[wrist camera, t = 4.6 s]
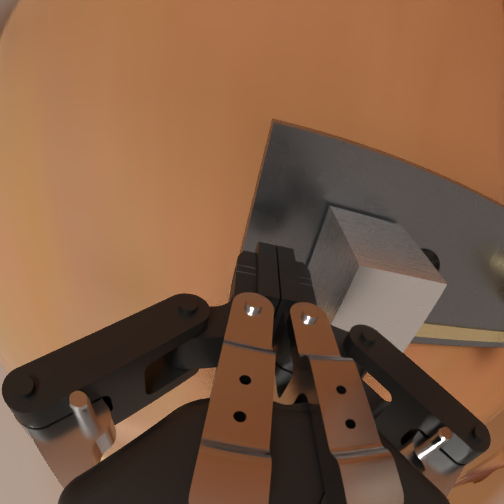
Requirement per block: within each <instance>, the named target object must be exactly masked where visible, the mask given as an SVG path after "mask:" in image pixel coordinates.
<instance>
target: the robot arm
mask: <svg viewBox="0 0 504 504" xmlns="http://www.w3.org/2000/svg"><path fill="white" fill-rule="evenodd" d="M312 285H313V284H312V280H311V275H310V271H309V269H308V268H307V267H306V266H305V264H304V263H303V262H298V261H296V260H295V254H294V249H292V248H287V247H283V246H278V245H273V244H268V243H263V242H259V241H258V243H257V246H256V250H255V253H254V252H249V251H243V252H242V253H241V254H240V255H239V256H238V259H237V263H236V267H235V272H234V276H233V280H232V284H231V292H230V300H229V302H228V303H227V304H225V305H222V306H216V307H209V305H208V304H207V302H206V301H205V300H203V299H202V298H200V297H198V296H196V295H193V294H177V295H174V296H172V297H170V298H168V299H166V300H163V301H161V302H159V303H157V304H155V305H153V306H151V307H148V308H146V309H144V310H142V311H140V312H138V313H136V314H133V315H131V316H129V317H127V318H125V319H123V320H121V321H118V322H116V323H114V324H112V325H110V326H108V327H105V328H103V329H101V330H99V331H97V332H95V333H92V334H90V335H88V336H86V337H84V338H82V339H79V340H77V341H75V342H73V343H71V344H69V345H66V346H64V347H62V348H60V349H58V350H56V351H53V352H51V353H49V354H47V355H45V356H42V357H40V358H38V359H36V360H34V361H32V362H29V363H27V364H25V365H23V366H21V367H18V368H16V369H14V370H13V371H11V372H10V373H9V374H8V375H7V376H6V378H5V380H4V382H3V385H2V395H3V398H4V400H5V402H6V403H7V405H8V407H9V408H10V409H11V410H12V412H13V413H14V416H15V418H16V419H17V421H18V422H19V423H20V425H21V426H22V427H23V428H24V429H25V431H26V432H27V433H28V435H29V436H30V437H31V438H32V439H33V440H34V442H35V444H36V446H37V448H38V449H39V451H40V453H41V454H42V456H43V458H44V459H45V461H46V462H47V464H48V465H49V467H50V469H51V470H52V472H53V473H54V475H55V476H56V478H57V479H58V481H59V482H60V484H61V485H62V487H63V488H64V490H63V492H62V493H61V496H60V498H59V501H58V504H450V503H449V501H448V499H447V498H446V497H447V496H448V494H449V492H450V491H451V489H452V488H453V486H454V484H455V482H456V481H457V479H458V477H459V475H460V474H461V472H462V470H463V468H464V466H465V465H467V464H468V463H470V462H471V461H473V460H474V459H475V458H477V457H478V456H480V455H481V454H482V453H483V452H485V451H486V450H487V449H488V448H489V446H490V434H489V431H488V429H487V428H486V426H485V425H484V424H483V423H482V422H481V421H480V420H479V419H478V418H476V417H475V416H474V415H473V414H472V413H471V412H470V411H469V410H467V409H466V408H465V407H464V406H463V405H462V404H461V403H460V402H459V401H457V400H456V399H455V398H454V397H453V396H452V395H451V394H449V393H448V392H447V391H446V390H445V389H444V388H443V387H442V386H440V385H439V384H438V383H437V382H436V381H435V380H434V379H432V378H431V377H430V376H429V375H428V374H427V373H426V372H424V371H423V370H422V369H421V368H420V367H419V366H417V365H416V364H415V363H414V362H413V361H412V360H411V359H409V358H408V357H407V356H406V355H405V354H404V353H402V352H401V351H400V350H399V349H398V348H397V347H395V346H394V345H393V344H392V343H391V342H390V341H388V340H387V339H386V338H385V337H384V336H383V335H381V334H380V333H379V332H378V331H377V330H375V329H374V328H372V327H370V326H367V325H362V324H358V325H355V326H353V327H352V328H351V329H350V331H349V332H348V331H345V330H342V329H340V328H337V327H335V326H333V325H331V324H330V322H329V319H328V316H327V314H326V313H325V312H324V311H323V310H322V309H321V308H320V307H318V306H317V302H316V298H315V293H314V289H313V286H312ZM272 347H273V351H272V350H271V348H272ZM212 367H217V368H216V373H215V377H214V381H213V386H212V390H211V394H210V398H206V399H199V400H196V401H192V402H190V403H187V404H185V405H183V406H181V407H179V408H177V409H176V410H174V411H173V412H172V413H170V414H169V415H168V416H166V417H165V418H163V419H162V420H161V421H159V422H158V423H157V424H155V425H154V426H152V427H151V428H150V429H148V430H147V431H145V432H144V433H143V434H141V435H140V436H138V437H137V438H135V439H134V440H133V441H131V442H130V443H128V444H127V445H125V446H124V447H122V448H121V449H119V450H118V451H116V452H115V453H113V454H112V455H110V456H109V457H107V458H106V459H104V460H103V461H101V462H100V460H101V457H102V455H103V454H104V453H105V452H106V451H107V450H108V449H109V448H110V447H111V446H112V445H113V444H114V442H115V439H116V429H115V426H114V425H116V424H118V423H119V422H121V421H123V420H124V419H126V418H128V417H129V416H131V415H132V414H134V413H136V412H137V411H139V410H141V409H142V408H144V407H145V406H147V405H149V404H150V403H152V402H153V401H155V400H156V399H158V398H160V397H161V396H163V395H164V394H166V393H167V392H169V391H170V390H172V389H174V388H175V387H177V386H178V385H180V384H181V383H183V382H184V381H186V380H187V379H189V378H190V377H192V376H193V375H195V374H196V373H197V372H198V370H199V369H200V368H212ZM367 372H368V373H369V374H370V375H371V376H373V377H374V378H375V379H376V380H377V381H378V382H379V383H380V384H381V385H382V386H383V387H385V388H386V389H387V390H388V391H389V392H390V394H391V396H392V401H391V402H387V401H385V400H384V399H382V398H381V397H380V396H379V395H378V394H377V393H376V392H375V391H374V390H373V389H372V388H371V387H370V386H368V385H367V384H366V383H365V382H364V381H363V380H362V378H363V377H364V375H365V374H366V373H367Z"/></svg>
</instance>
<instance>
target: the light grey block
mask: <svg viewBox="0 0 504 504" xmlns="http://www.w3.org/2000/svg"><path fill="white" fill-rule="evenodd" d="M307 268H308V269H309V271H310V275H311V280H312V284H313V285H312V286H313V289H314V293H315V298H316V302H317V306H318V307H320V308H321V309H322V310H323V311H324V312H325V313H326V314H327V316H328V319H329V322H330V324H331V325H333V326H335V327H337V328H340V329H342V330H345V331H348V332H349V331H350V329H351V328H352V327H353V326H355V325H358V324H362V325H367V326H370V327H372V328H374V329H375V330H377V331H378V332H379V333H380V334H381V335H383V336H384V337H385V338H386V339H387V340H388V341H390V342H391V343H392V344H393V345H394V346H395V347H397V348H398V349H399V350H400V351H401V352H402V353H403V352H404V350H405V349H406V347H407V346H408V345H409V343H410V342H411V340H412V339H413V338H414V336H415V335H416V333H417V332H418V330H419V329H420V327H421V326H422V324H423V323H424V321H425V320H426V318H427V317H428V315H429V314H430V312H431V311H432V309H433V307H434V306H435V304H436V303H437V301H438V299H439V298H440V296H441V294H442V293H443V291H444V289H445V288H446V286H447V283H446V282H445V280H444V279H443V278H442V276H441V275H440V274H439V272H438V271H437V270H436V268H435V267H434V266H433V264H432V263H431V262H430V260H429V259H428V258H427V256H426V255H425V254H424V253H423V251H422V250H421V249H420V248H419V246H418V245H417V244H416V243H415V241H414V240H413V239H412V238H411V236H410V235H409V234H408V233H407V232H406V230H405V229H404V228H403V227H402V226H401V225H398V224H395V223H391V222H388V221H384V220H381V219H377V218H374V217H370V216H367V215H363V214H359V213H356V212H352V211H348V210H344V209H341V208H337V207H333V206H329V209H328V212H327V215H326V218H325V221H324V223H323V226H322V229H321V232H320V235H319V238H318V240H317V243H316V246H315V249H314V251H313V254H312V257H311V259H310V262H309V265H308V267H307Z"/></svg>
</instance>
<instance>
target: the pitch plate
mask: <svg viewBox="0 0 504 504" xmlns="http://www.w3.org/2000/svg"><path fill="white" fill-rule="evenodd" d="M329 206H333V207H337V208H341V209H344V210H348V211H352V212H356V213H359V214H363V215H367V216H370V217H374V218H377V219H381V220H384V221H388V222H391V223H395V224H398V225H401V226H402V227H403V228H404V229H405V230H406V232H407V233H408V234H409V235H410V236H411V238H412V239H413V240H414V241H415V243H416V244H417V245H418V246H419V248H420V249H421V250H422V251H423V253H424V254H425V255H426V256H427V258H428V259H429V260H430V262H431V263H432V264H433V266H434V267H435V268H436V270H437V271H438V272H439V274H440V275H441V276H442V278H443V279H444V280H445V282H446V283H447V286H446V288H445V289H444V291H443V293H442V294H441V296H440V298H439V299H438V301H437V303H436V304H435V306H434V307H433V309H432V311H431V312H430V314H429V315H428V317H427V318H426V320H425V321H424V323H423V324H422V326H421V327H420V329H419V330H418V332H417V333H416V335H415V336H414V338H413V339H412V340H411V343H424V344H437V345H453V346H474V347H504V205H502V204H500V203H498V202H496V201H494V200H492V199H491V198H489V197H487V196H485V195H483V194H481V193H479V192H477V191H475V190H473V189H471V188H469V187H466V186H464V185H462V184H460V183H458V182H456V181H454V180H451V179H449V178H447V177H445V176H443V175H440V174H438V173H436V172H433V171H431V170H429V169H426V168H424V167H421V166H419V165H416V164H414V163H411V162H409V161H406V160H404V159H401V158H399V157H396V156H393V155H391V154H388V153H385V152H382V151H380V150H377V149H374V148H371V147H368V146H365V145H362V144H359V143H356V142H353V141H350V140H347V139H344V138H341V137H337V136H334V135H331V134H327V133H324V132H321V131H317V130H313V129H310V128H306V127H303V126H299V125H295V124H291V123H287V122H283V121H279V120H275V119H272V123H271V127H270V131H269V135H268V139H267V143H266V147H265V151H264V155H263V159H262V163H261V167H260V171H259V175H258V180H257V184H256V188H255V192H254V196H253V200H252V204H251V208H250V213H249V217H248V221H247V225H246V229H245V233H244V238H243V242H242V246H241V250H240V254H241V253H242V252H243V251H249V252H254V253H255V250H256V246H257V243H258V241H259V242H263V243H268V244H273V245H278V246H283V247H287V248H292V249H294V254H295V260H296V261H298V262H303V263H304V264H305V266H306V267H308V265H309V262H310V259H311V257H312V254H313V251H314V249H315V246H316V243H317V240H318V238H319V235H320V232H321V229H322V226H323V223H324V221H325V218H326V215H327V212H328V209H329ZM240 254H239V255H240ZM229 300H230V297H229Z"/></svg>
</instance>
